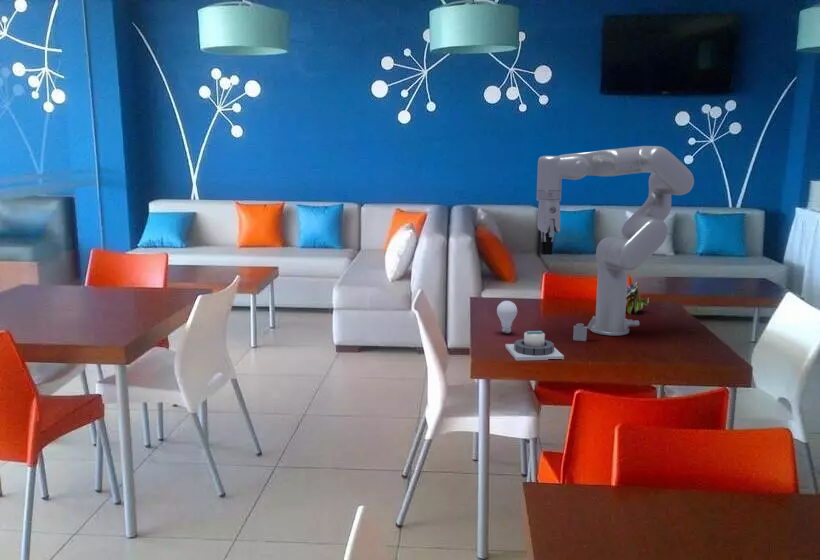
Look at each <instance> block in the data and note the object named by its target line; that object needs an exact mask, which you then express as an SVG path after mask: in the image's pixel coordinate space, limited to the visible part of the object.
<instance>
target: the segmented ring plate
mask: <svg viewBox="0 0 820 560" xmlns="http://www.w3.org/2000/svg"><path fill="white" fill-rule="evenodd" d="M505 349H506V350H507V351H508V352H509V354H510V355H511V356H512V357H513V358H514V360H515V361H516V362H517V361H518V362H519V361H549V360H548V359H562V360H565V355H564V354H563V353H561V352H560V350H558V349H557V348H556V347H555V343H553V341H550V340H547V339H545V342H544V346H543V347H530V346H525V345H524V338H520V339H516V340H515V341H514V342H513V343H505Z"/></svg>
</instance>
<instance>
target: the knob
mask: <svg viewBox="0 0 820 560" xmlns="http://www.w3.org/2000/svg"><path fill="white" fill-rule="evenodd" d="M523 333H524V334H523V339H524V345H525V346H530V347H543V346H544V342H545V340H546V338H545V337H546V333H545V332H543V331H542V330H527V331H525V332H523Z"/></svg>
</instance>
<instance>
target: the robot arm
mask: <svg viewBox="0 0 820 560" xmlns="http://www.w3.org/2000/svg"><path fill="white" fill-rule="evenodd" d="M641 173H643V174H645V173H646V174H647V173H649V174H650V176H649V177H648V195H647V196H648V197H647V198H646V200H645V202H644V203H643V204H642V205H641V206H640V207H639V208H638V209H637V210H636V211H635V212H634V213H633V214H632V215H631V216H630V217H629V218H627V220H626V221H625V222H624V223H623V224H622V228H621V235H622V236H623V237H618V236H606V237H603V238H602V239H601V240H600V241H599V243H598V244H597V246H596V252H595V257H596V258H595V259H596V266H597V280H596V281H597V285H596V302H595V304H596V305H595V317H597V320H596V322H595V323H594V325H593V327H592V329H591V330H590V331H591V333H594V334H598V335H603V336H611V337H613V336H617V337H618V336H619V337H620V336H624V335H628V334H629V333H630V327H640V321H639V320H633V319H628V318H627V317H626V312H627V304H626V296H627V287H628V272H627V271H633V270H636V269H637V268H640V267H641V266H642V265H643V264H645V262H646V261H647V260H648V259H649V258H651V256H652V255H654V253H655V252H657V251H658V249H659V248H660V247H662V246H663V244H664V243H665V241H666V240H667V235H668V227H667V224H666V222H665V221H664V220H666V219H667V218H668V216H669V215H670V212H671V209H672V195H674V196H683V195H686V194H688V193H690V192H691V190H692V189H693V187H694V185H695V179H694V175H693V173H692V172H691V170H690V169H689V168H688V167H687V166H686V165H685V164H684V163H683V162H682V161H681V160H680V159H679V158H677V157H676V156H675V155H674V154H673V153H672V152H671V151H669V150H668V149H667V148H666V147H663V146H660V145H659V146H658V145H641V146H640V145H639V146H628V147H620V148H612V149H611V148H609V149H602V150H595V151H587V152H586V151H584V152H574V153H565V154H560V155H542V156H540V157H539V158H538V161H537V175H536V176H537V178H536V180H537V181H536V201H538V208H537V223H536V224H537V229H538V231H540V233H541V237H540V238H541V240H540V241H541V243H540V244H541V245H540V246H541V247H540V254H541V255H545V256H546V255H553V244H554V243H553V242H554V238H555V233H557V234H559V233H560V232H561V203H560V202H561V201H562V185H563V184H562V180H563V179H566V180H573V181H576V180H581V179H583V178H585V177H587V176H592V177H593V176H597V177H617V176H625V175H631V174H632V175H633V174H641Z"/></svg>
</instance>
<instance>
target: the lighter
mask: <svg viewBox="0 0 820 560" xmlns="http://www.w3.org/2000/svg"><path fill="white" fill-rule="evenodd" d="M596 320H597V317H596V315H593V316H592V318H591V319H590V321H589V323H588V324H587V325H586V326H585V325H584V323H576V324H575V325H573V334H572V340H573V341H577V342H579V341H581V342H587V337H588V336H587V333H588V332H587V331H588V330H590V331H591V329H592V327H593V325H594V324H595V322H596Z"/></svg>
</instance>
